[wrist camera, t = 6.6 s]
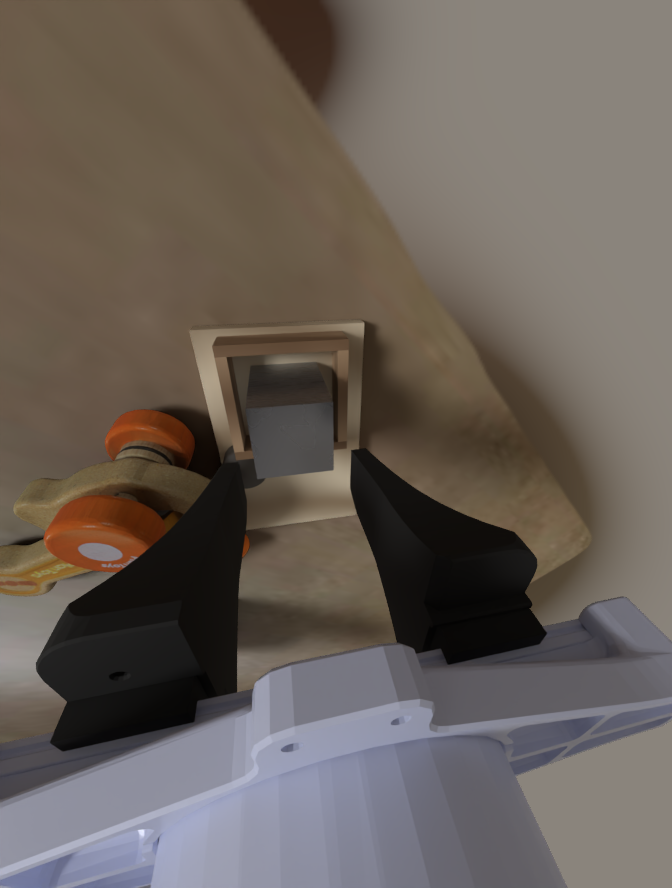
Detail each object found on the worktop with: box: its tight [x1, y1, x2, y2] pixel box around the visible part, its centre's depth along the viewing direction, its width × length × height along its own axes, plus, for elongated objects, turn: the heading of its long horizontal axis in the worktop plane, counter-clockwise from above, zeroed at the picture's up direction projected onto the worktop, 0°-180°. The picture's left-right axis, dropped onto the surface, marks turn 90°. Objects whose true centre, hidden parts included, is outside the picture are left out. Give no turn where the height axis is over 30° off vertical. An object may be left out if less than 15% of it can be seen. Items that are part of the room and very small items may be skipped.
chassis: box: [189, 319, 364, 530], centre depth 22 cm, size 16×10×3 cm, turn 1°
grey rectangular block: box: [245, 362, 334, 479], centre depth 18 cm, size 4×4×6 cm
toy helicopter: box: [0, 409, 250, 596], centre depth 23 cm, size 8×21×14 cm
